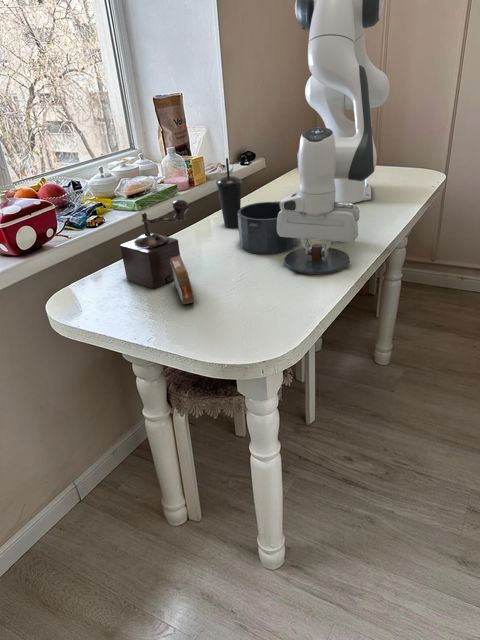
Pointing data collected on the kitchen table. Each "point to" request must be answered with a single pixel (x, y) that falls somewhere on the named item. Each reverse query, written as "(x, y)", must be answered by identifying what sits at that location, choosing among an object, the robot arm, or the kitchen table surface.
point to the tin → (181, 280)
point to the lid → (317, 260)
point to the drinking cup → (230, 198)
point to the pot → (262, 229)
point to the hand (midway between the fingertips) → (316, 255)
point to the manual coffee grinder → (152, 252)
